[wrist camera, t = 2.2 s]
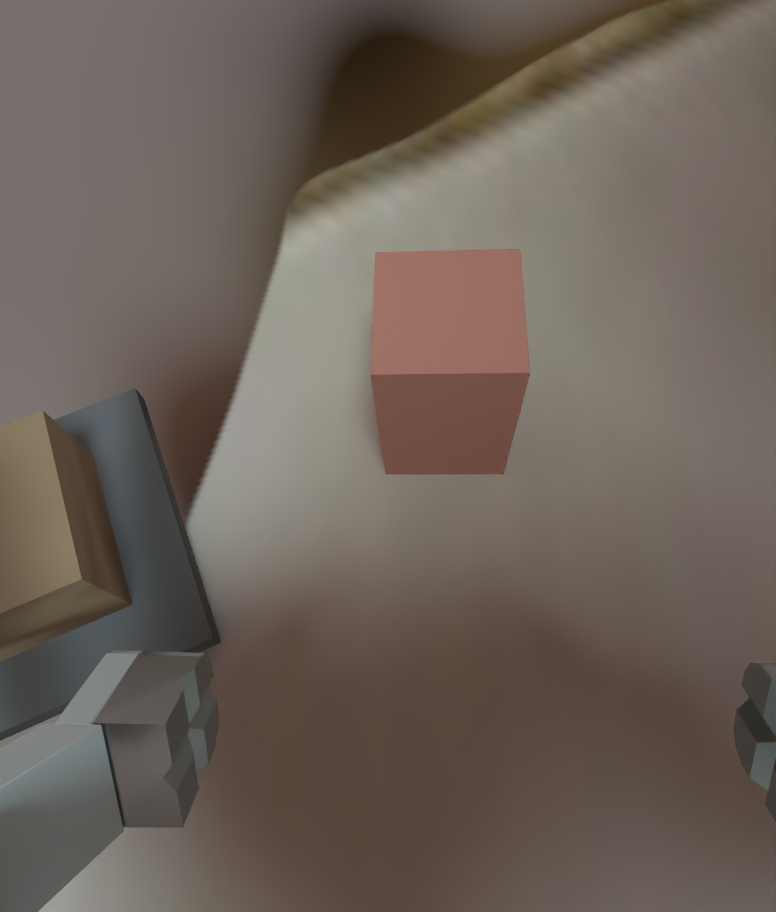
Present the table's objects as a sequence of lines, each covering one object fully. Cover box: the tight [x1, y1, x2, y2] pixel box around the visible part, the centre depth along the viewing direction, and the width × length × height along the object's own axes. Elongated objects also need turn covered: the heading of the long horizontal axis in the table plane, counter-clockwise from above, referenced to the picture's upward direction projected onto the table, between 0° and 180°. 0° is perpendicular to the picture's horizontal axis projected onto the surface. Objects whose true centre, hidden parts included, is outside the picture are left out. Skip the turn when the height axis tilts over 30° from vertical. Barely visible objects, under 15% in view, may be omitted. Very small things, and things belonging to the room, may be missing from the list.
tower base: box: [0, 389, 220, 740], centre depth 24 cm, size 12×12×5 cm
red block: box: [371, 249, 530, 474], centre depth 25 cm, size 5×5×8 cm
